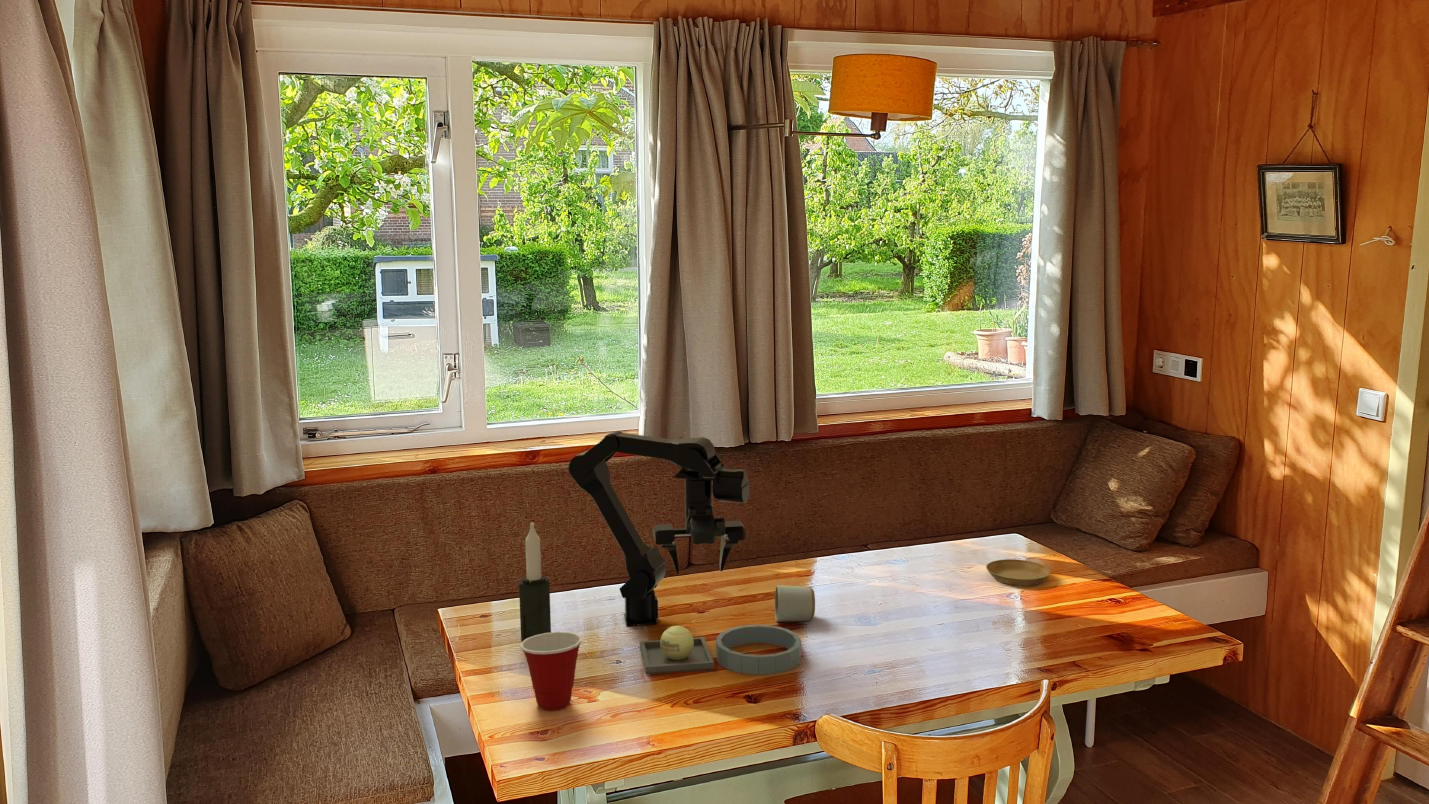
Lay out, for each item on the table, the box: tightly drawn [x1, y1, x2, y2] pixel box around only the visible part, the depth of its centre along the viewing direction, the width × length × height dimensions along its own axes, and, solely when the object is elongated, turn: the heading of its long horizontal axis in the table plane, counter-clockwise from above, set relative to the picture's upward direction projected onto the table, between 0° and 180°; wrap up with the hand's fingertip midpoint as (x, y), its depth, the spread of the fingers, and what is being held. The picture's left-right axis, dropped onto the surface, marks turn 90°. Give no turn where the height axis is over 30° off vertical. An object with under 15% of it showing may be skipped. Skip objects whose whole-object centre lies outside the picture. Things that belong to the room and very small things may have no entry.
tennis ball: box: [659, 625, 694, 660], centre depth 214 cm, size 6×7×7 cm
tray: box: [639, 636, 715, 676], centre depth 214 cm, size 13×13×2 cm
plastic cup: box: [519, 631, 583, 712], centre depth 194 cm, size 11×11×12 cm
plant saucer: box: [985, 558, 1052, 587], centre depth 260 cm, size 15×15×3 cm
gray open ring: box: [715, 624, 802, 676], centre depth 214 cm, size 16×16×4 cm
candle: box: [518, 521, 552, 643], centre depth 221 cm, size 5×5×25 cm
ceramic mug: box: [774, 584, 816, 623], centre depth 235 cm, size 11×8×8 cm
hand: (699, 572), depth 229 cm, fingers open, 9 cm apart
